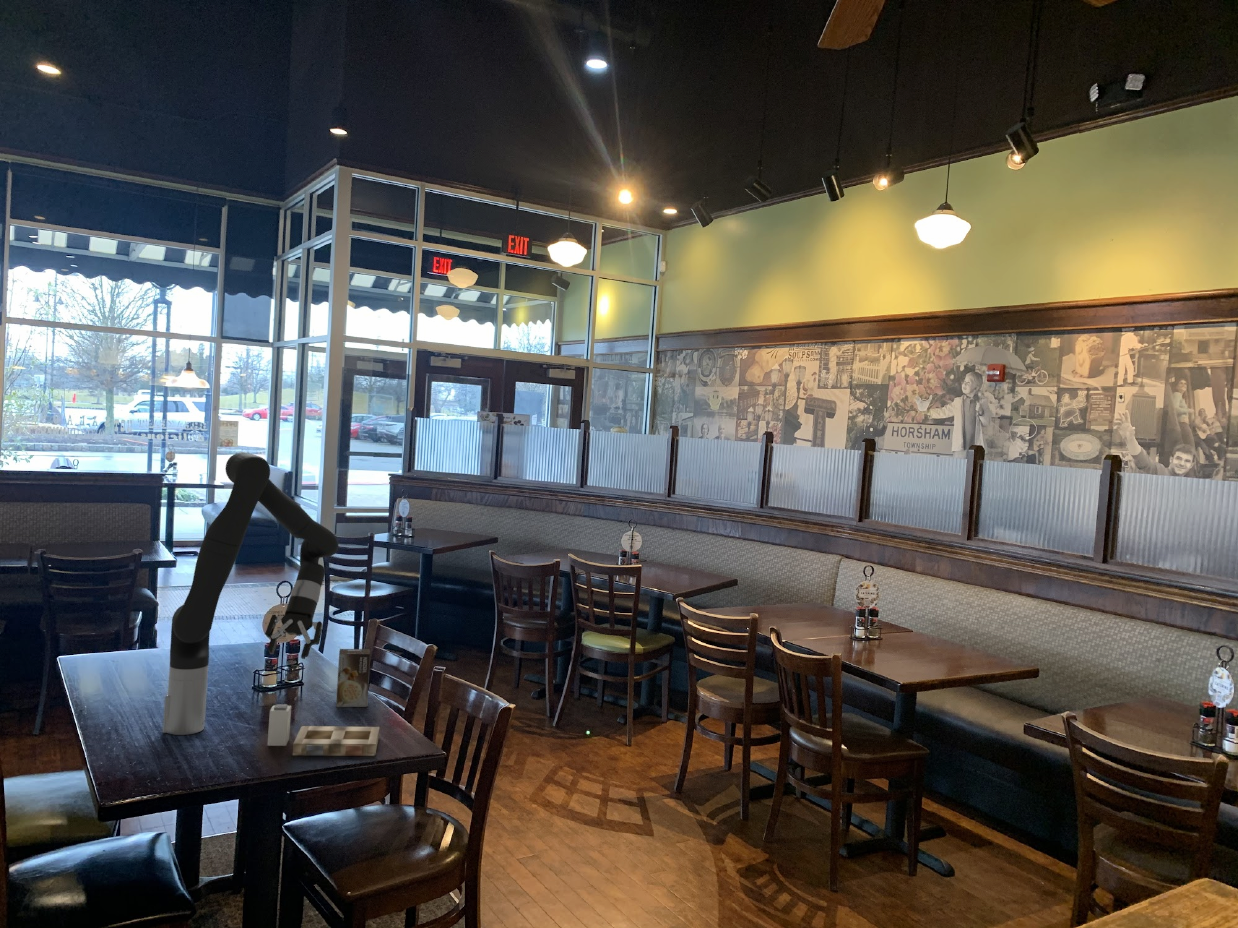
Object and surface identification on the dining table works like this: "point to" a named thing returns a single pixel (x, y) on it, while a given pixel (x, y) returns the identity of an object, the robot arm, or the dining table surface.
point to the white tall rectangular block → (279, 725)
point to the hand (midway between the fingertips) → (287, 655)
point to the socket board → (336, 741)
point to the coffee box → (353, 678)
